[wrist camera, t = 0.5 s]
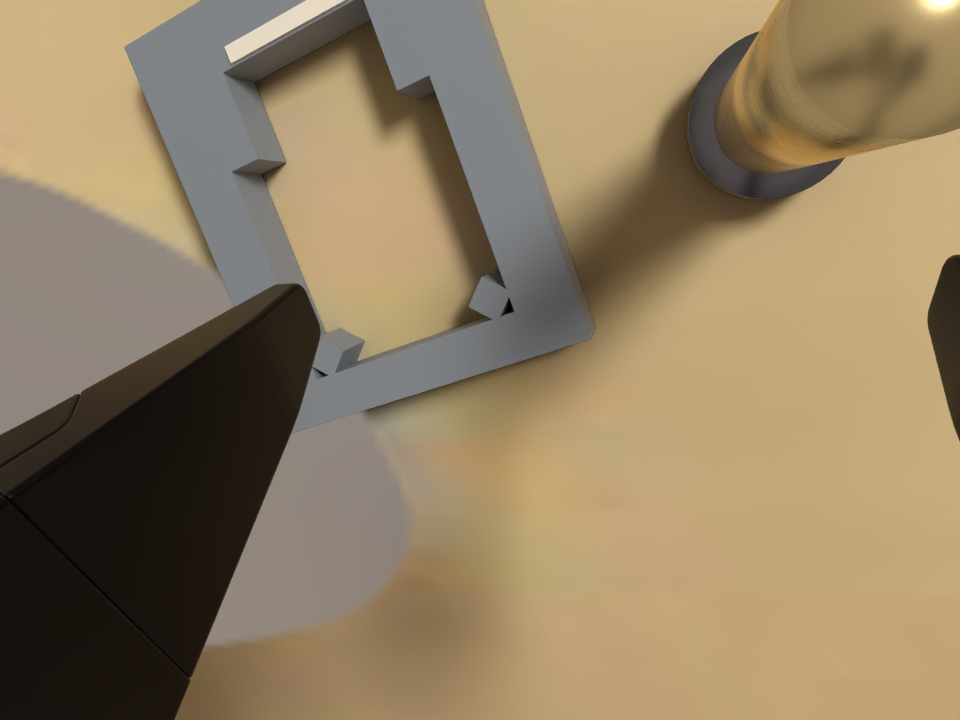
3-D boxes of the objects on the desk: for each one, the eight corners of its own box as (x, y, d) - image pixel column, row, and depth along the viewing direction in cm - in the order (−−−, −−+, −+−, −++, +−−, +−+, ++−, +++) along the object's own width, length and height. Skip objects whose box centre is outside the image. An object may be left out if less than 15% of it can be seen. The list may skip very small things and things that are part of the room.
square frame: (595, 328, 24) (591, 339, 22) (311, 419, 28) (286, 435, 26) (445, -108, 22) (425, -139, 20) (162, 58, 26) (122, 46, 24)
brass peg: (785, 226, 22) (960, 254, 10) (657, 153, 22) (666, 92, 10) (885, 85, 20) (1250, -100, 8) (744, 10, 21) (883, -274, 8)
